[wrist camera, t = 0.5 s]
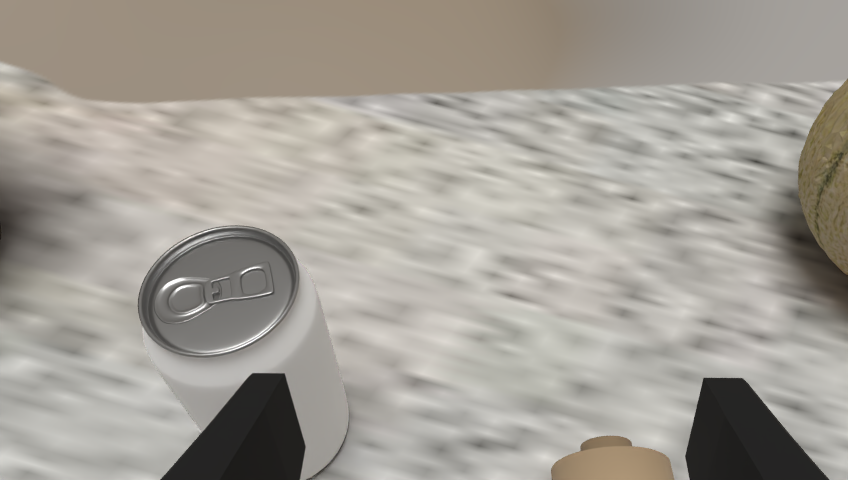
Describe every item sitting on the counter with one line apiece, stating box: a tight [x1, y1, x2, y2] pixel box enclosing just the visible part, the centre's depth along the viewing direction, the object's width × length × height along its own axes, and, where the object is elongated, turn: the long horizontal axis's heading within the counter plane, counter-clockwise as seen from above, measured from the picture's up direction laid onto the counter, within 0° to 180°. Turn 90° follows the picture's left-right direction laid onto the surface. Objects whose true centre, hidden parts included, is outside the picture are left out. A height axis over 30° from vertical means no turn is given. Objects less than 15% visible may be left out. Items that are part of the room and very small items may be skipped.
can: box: [138, 225, 349, 480], centre depth 27 cm, size 6×6×12 cm
